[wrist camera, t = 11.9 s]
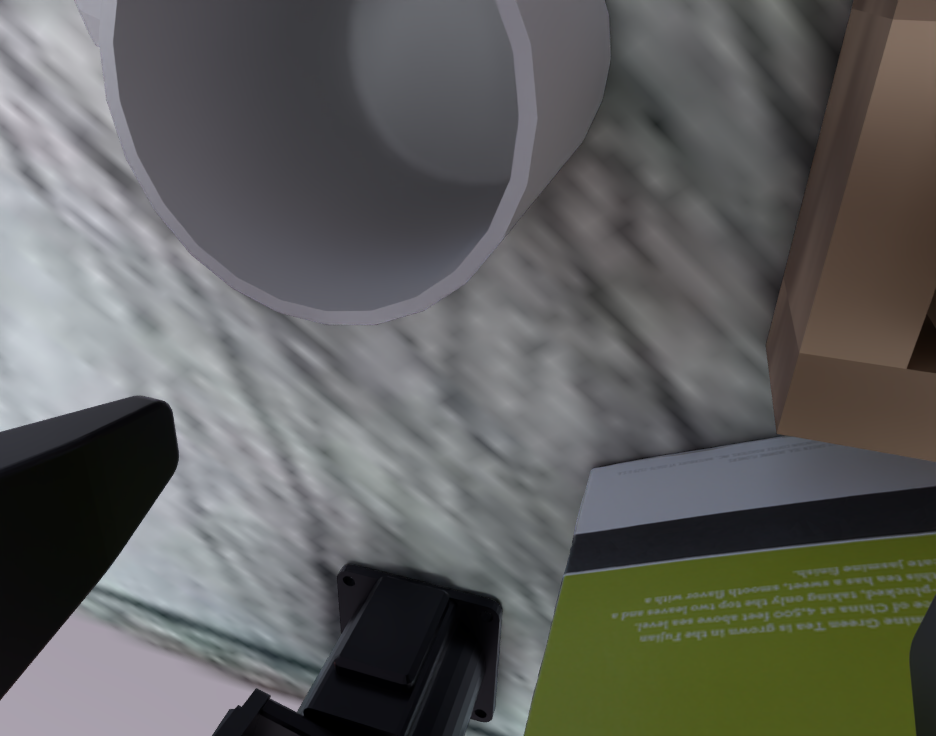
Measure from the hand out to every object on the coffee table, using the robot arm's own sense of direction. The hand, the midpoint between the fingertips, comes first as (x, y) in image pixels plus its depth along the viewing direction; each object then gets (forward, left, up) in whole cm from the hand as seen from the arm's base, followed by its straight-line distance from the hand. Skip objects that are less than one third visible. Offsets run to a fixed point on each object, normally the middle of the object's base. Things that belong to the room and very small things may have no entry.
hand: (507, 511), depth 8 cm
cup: (+4, +6, -13) cm, 15 cm away
